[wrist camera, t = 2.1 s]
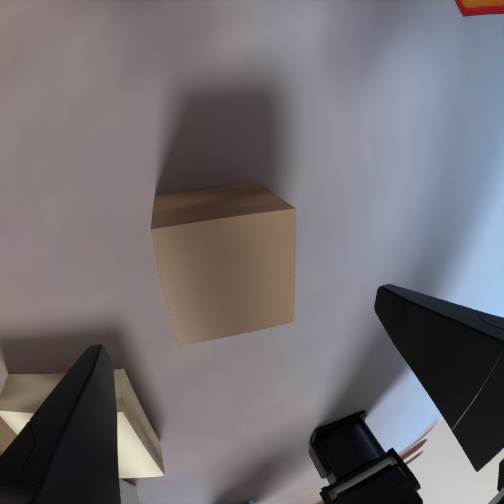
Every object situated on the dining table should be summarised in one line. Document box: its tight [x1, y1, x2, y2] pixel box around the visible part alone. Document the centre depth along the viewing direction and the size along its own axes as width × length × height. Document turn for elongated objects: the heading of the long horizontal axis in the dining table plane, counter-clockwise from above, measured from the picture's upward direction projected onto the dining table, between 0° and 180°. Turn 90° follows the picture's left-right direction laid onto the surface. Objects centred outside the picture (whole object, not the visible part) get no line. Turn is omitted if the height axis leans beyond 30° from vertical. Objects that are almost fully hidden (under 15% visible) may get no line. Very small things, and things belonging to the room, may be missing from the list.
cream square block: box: [0, 369, 165, 478], centre depth 17 cm, size 10×10×4 cm
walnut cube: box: [151, 182, 296, 346], centre depth 13 cm, size 5×5×5 cm
